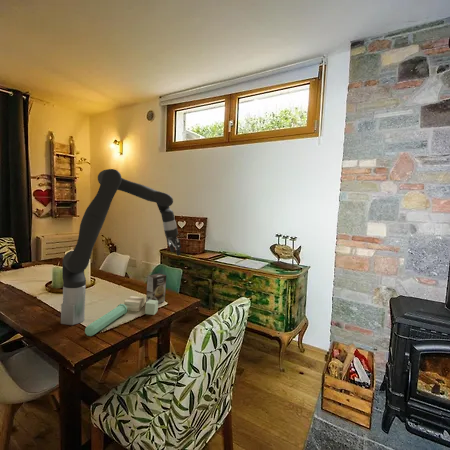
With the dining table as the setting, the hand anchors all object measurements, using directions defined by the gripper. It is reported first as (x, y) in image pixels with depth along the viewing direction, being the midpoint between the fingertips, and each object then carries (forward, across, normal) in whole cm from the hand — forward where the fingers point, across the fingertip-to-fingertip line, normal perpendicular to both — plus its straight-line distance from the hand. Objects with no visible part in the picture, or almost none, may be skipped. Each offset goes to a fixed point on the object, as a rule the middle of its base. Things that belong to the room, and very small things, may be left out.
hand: (175, 253), depth 159 cm
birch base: (+21, +2, -31) cm, 38 cm away
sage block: (+22, +12, -25) cm, 36 cm away
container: (+16, +16, -48) cm, 52 cm away
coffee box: (+25, -1, -18) cm, 31 cm away
